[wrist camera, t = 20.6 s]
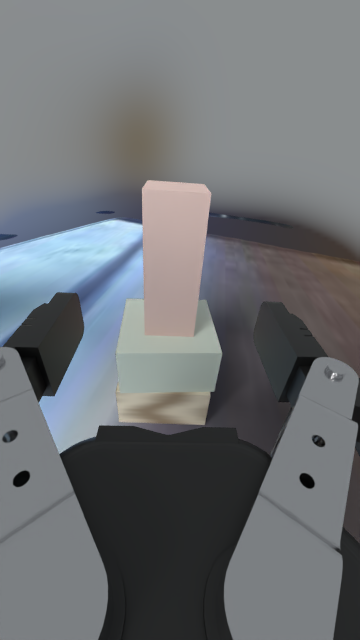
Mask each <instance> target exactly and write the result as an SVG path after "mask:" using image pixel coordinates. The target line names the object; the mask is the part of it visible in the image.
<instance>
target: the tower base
mask: <svg viewBox="0 0 360 640" xmlns="http://www.w3.org/2000/svg"><path fill="white" fill-rule="evenodd" d="M210 396H211V395H210V392H166V393H120V390H119V381H118V384H117V388H116V399H117V407H118V415H119V422H135V423H162V424H190V425H205V421H206V416H207V411H208V406H209V401H210Z"/></svg>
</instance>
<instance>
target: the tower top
mask: <svg viewBox="0 0 360 640" xmlns="http://www.w3.org/2000/svg"><path fill="white" fill-rule="evenodd" d="M221 357H222V351H221V347H220V344H219V341H218V337H217V334H216V331H215V328H214V324H213V321H212V318H211V314H210V311H209V308H208V304H207V301H206V300H198V306H197V314H196V322H195V331H194V337H182V336H155V335H145V327H144V299H126V304H125V309H124V314H123V319H122V324H121V329H120V334H119V339H118V344H117V349H116V362H117V371H118V381H119V390H120V393H166V392H214V391H215V386H216V381H217V376H218V372H219V367H220V362H221Z"/></svg>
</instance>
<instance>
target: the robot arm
mask: <svg viewBox="0 0 360 640" xmlns="http://www.w3.org/2000/svg"><path fill="white" fill-rule="evenodd" d="M83 332H84V322H83V317H82V312H81V307H80V301H79V297H78V295H77V294H76V293H60V292H58V293H56V294H55V296H54V297H53V298H52V299H51V301H50V302H49V303H48V304H46V303H44V304H42V305H41V306H39V307H37V308H36V309H34V310H33V311H32V312H31V313H30V315H29V316H28V317H27V319H25V321H24V322H23V323H22V326H20V327H19V328H18V329H17V330H16V331H15V332H14V334H13V335H12V336H11V337H10V338H9V340H8V341H7V342H6V343H5V344H4V345H3V347H0V640H360V544H359V543H358V542H357V541H356V540H355V539H354V538H353V537H352V536H351V535H350V534H349V533H348V532H347V531H346V530H345V529H344V528H343V520H344V514H345V507H346V501H347V495H348V488H349V482H350V476H351V469H352V463H353V457H354V450H355V448H356V450H357V452H358V454H359V456H360V378H358V376H357V374H356V372H355V371H354V370H353V369H352V368H351V367H349V366H348V365H347V364H345V363H343V362H341V361H339V360H336V359H333V358H329V357H328V356H327V354H326V353H325V352H324V350H323V349H322V347H321V346H320V345H319V343H318V342H317V341H316V339H315V338H314V337H312V334H311V332H310V331H309V330H308V328H307V327H306V325H305V324H304V322H303V321H302V320H301V319H299V318H298V317H296V316H295V315H294V314H289V312H288V311H287V309H286V308H285V306H284V305H283V303H281V302H263V303H262V305H261V307H260V311H259V315H258V318H257V322H256V325H255V329H254V343H255V346H256V348H257V351H258V353H259V356H260V358H261V361H262V363H263V366H264V368H265V371H266V373H267V376H268V378H269V381H270V383H271V386H272V388H273V391H274V393H275V396H276V398H277V401H278V402H290V404H291V409H290V411H289V413H288V415H287V417H286V420H285V422H284V424H283V426H282V429H281V431H280V433H279V436H278V438H277V440H276V442H275V445H274V447H273V449H272V451H271V453H270V455H269V454H267V453H266V452H265V451H263V450H261V449H260V448H258V447H257V446H255V445H253V444H251V443H248V442H246V441H243V440H240V439H238V436H237V431H236V428H214V427H202V428H198V429H194V430H189V431H185V432H181V433H177V434H172V435H165V434H161V433H157V432H153V431H150V430H146V429H142V428H139V427H135V426H99V428H98V432H97V436H96V437H93V438H90V439H87V440H84V441H81V442H79V443H77V444H75V445H73V446H71V447H70V448H68V449H66V450H65V451H63V452H62V453H61V454H59V453H58V450H57V448H56V445H55V443H54V440H53V438H52V435H51V433H50V430H49V428H48V425H47V423H46V420H45V418H44V415H43V413H42V410H41V408H40V405H39V401H40V399H41V397H42V396H55V394H56V392H57V390H58V387H59V385H60V383H61V381H62V379H63V377H64V375H65V373H66V371H67V368H68V366H69V364H70V362H71V360H72V358H73V356H74V354H75V352H76V349H77V347H78V345H79V343H80V341H81V339H82V337H83Z"/></svg>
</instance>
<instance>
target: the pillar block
mask: <svg viewBox="0 0 360 640" xmlns="http://www.w3.org/2000/svg"><path fill="white" fill-rule="evenodd" d="M210 199H211V193H210V191H209V190H208V189H207V187H206V186H205V185H204V184H193V183H179V182H165V181H150V180H148V181H147V182H146V184H145V185H144V187H143V188H142V206H143V207H142V210H143V211H142V212H143V269H144V327H145V335H155V336H182V337H194V331H195V322H196V314H197V306H198V298H199V290H200V281H201V273H202V265H203V257H204V249H205V240H206V232H207V223H208V216H209V207H210Z"/></svg>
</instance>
